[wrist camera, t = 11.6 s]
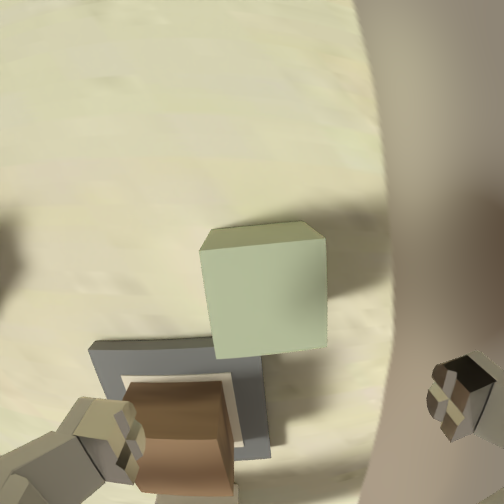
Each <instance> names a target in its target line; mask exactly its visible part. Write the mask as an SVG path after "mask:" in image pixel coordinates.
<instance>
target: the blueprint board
mask: <svg viewBox="0 0 504 504" xmlns="http://www.w3.org/2000/svg"><path fill="white" fill-rule="evenodd" d="M88 352H89V354H90V357H91V360H92V363H93V365H94V368H95V370H96V373H97V376H98V378H99V381H100V383H101V386H102V388H103V390H104V393H105V395H106V397H107V399H110V400H120V401H122V399H123V397H124V395H125V393H126V391H127V389H128V387H129V385H130V383H131V382H148V383H166V382H203V381H222V385H223V391H224V396H225V401H226V406H227V411H228V415H229V420H230V425H231V430H232V434H233V439H234V461H240V460H255V459H267V458H271V450H270V440H269V431H268V421H267V411H266V401H265V391H264V382H263V372H262V362H261V356H252V357H241V358H229V359H216V354H215V349H214V343H213V337H206V338H190V339H171V340H144V341H95V342H94V343H93V344H92V345H91V347H90V348H89V349H88Z"/></svg>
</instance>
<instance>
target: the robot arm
mask: <svg viewBox="0 0 504 504" xmlns="http://www.w3.org/2000/svg"><path fill="white" fill-rule="evenodd" d="M432 378H433V380H434V383H433V384H432V386H431V387H430V388H429V389H428V394H427V407H428V410H429V413H430V415H431V416H432V417H433V419H436V420H438V421H441V427H440V428H441V430H442V431H443V433H444V434H445V435H446V437H447V438H448V440H449V441H450V442H453V441H456V440H458V439H460V438H463V437H465V436H467V435H470V434H472V433H474V435H476V436H478V437H480V438H482V439H484V440H486V441H489V442H491V443H493V444H495V445H497V446H499V447H501V448H503V449H504V370H503V369H501V368H500V367H499V366H498V365H497V364H495V363H494V362H493V361H492V360H490V359H489V358H488V357H487V356H486V355H484V354H483V353H482V352H480V351H473V352H471V353H468V354H466V355H463V356H462V357H459V358H455V359H452V360H449V361H446V362H443V363H440V364H437V365H436V366H435V368H434V370H433V373H432ZM136 414H137V412H136V410H135V407H134V405H133V403H131V402H129V401H120V400H110V399H101V398H90V397H81V398H78V400H77V401H76V403H75V404H74V406H73V407H72V408H71V410H70V411H69V413H68V414H67V416H66V417H65V419H64V420H63V422H62V423H61V425H60V426H59V428H58V429H57V431H56V432H54V431H51V432H49V433H47V434H45V435H43V436H41V437H39V438H37V439H35V440H33V441H31V442H29V443H27V444H25V445H23V446H21V447H19V448H17V449H15V450H13V451H10V452H8V453H6V454H4V455H2V456H0V504H81V503H82V502H83V501H84V500H86V499H87V498H88V497H89V496H90V495H92V494H93V493H94V492H95V491H96V490H97V489H99V488H100V487H101V486H102V485H103V484H104V483H105V481H107V482H114V483H121V484H128V485H134V483H135V479H136V476H137V473H138V470H139V466H138V464H137V462H136V461H137V460H138V459H139V458H141V457H142V456H143V454H144V451H145V444H146V437H145V433H144V429H143V427H142V424H140V423H139V422H138V421H137V420H135V419H134V418H135V416H136ZM477 504H504V487H503V488H501V489H500V490H498V491H497V492H496V493H494V494H492V495H490V496H489V497H487V498H486V499H484V500H482V501H481V502H479V503H477Z"/></svg>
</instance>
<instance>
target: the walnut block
mask: <svg viewBox="0 0 504 504" xmlns="http://www.w3.org/2000/svg"><path fill="white" fill-rule="evenodd" d="M122 401H129V402H131V403H133V405H134V407H135V410H136V412H137V414H136V416H135V418H134V419H135V420H137V421H138V422H139V423H140V424H142V427H143V429H144V433H145V437H146V444H145V451H144V454H143V456H142V457H141V458H139V459H138V460H137V461H136V462H137V464H138V466H139V470H138V473H137V476H136V479H135V483H136V485H137V486H138V488H139V489H140V491H141V492H145V493H154V494H165V495H178V496H204V497H225V496H234V439H233V434H232V430H231V425H230V420H229V415H228V411H227V406H226V401H225V396H224V391H223V385H222V381H203V382H166V383H148V382H131V383H130V385H129V387H128V389H127V391H126V393H125V395H124V397H123V399H122Z"/></svg>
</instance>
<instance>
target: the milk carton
mask: <svg viewBox="0 0 504 504" xmlns="http://www.w3.org/2000/svg"><path fill="white" fill-rule="evenodd" d="M155 504H239V498H238V485H237V484H234V496H225V497H204V496H178V495H165V494H157V496H156V501H155Z"/></svg>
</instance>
